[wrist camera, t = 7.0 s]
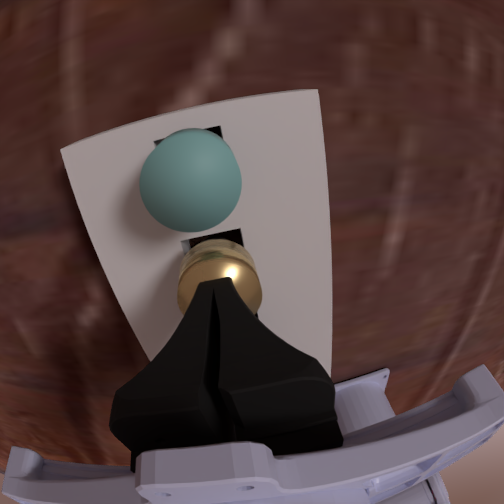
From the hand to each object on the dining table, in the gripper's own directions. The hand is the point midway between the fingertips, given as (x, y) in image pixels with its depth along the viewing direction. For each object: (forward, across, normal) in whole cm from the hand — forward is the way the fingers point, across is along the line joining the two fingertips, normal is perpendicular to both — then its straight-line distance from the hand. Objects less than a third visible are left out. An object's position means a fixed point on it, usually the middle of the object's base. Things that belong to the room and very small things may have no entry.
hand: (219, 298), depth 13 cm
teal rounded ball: (+4, 0, -5) cm, 7 cm away
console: (+6, 0, +3) cm, 6 cm away
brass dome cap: (+4, 0, 0) cm, 4 cm away
